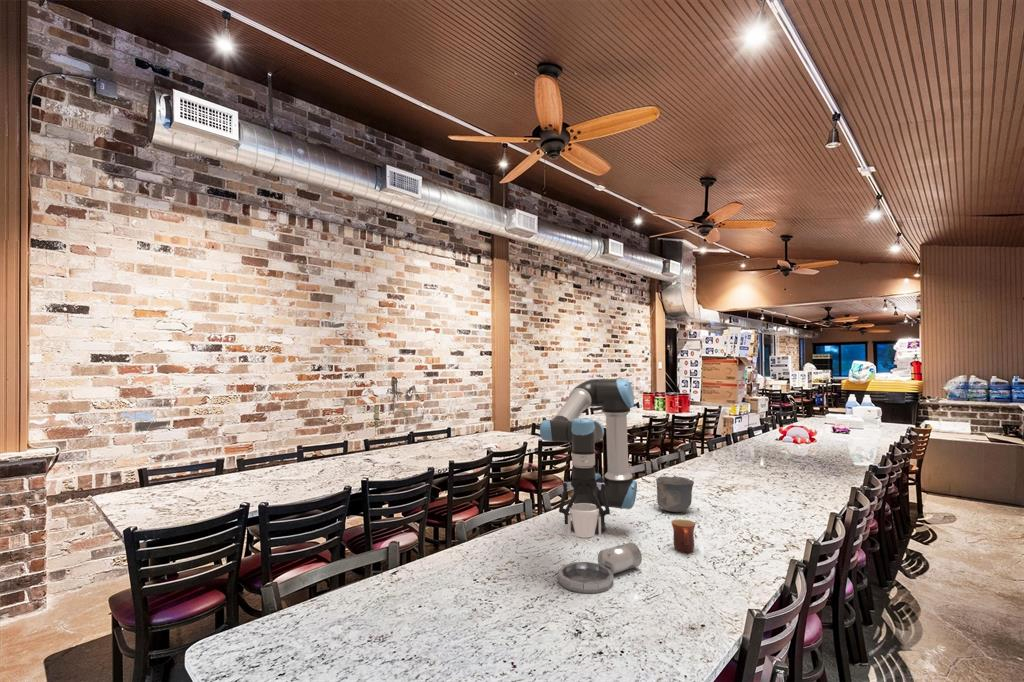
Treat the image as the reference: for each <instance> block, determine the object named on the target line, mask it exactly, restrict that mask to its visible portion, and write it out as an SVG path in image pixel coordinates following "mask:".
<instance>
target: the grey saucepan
mask: <svg viewBox="0 0 1024 682" xmlns="http://www.w3.org/2000/svg"><path fill="white" fill-rule="evenodd" d="M642 560H643V557H642V552H641V550H640V548H639V546H638V545H636V543H633V542H627V543H624V544H619V545H615V546H613V547H609V548H606V549H602V550H600V551H598V554H597V563H595V562H589V561H576V562H575V561H574V562H570V563H566V564H563V565H561V567H560V568H559V569H558V570H557V582H558V584H559V586H561V587H562V588H563V589H565V590H567V591H569V592H573V593H578V594H586V595H588V594H589V595H595V594H601V593H605V592H608V591H610V590H611V589H612V588H613V586H614V582H615V581H614V575H615V574H619V573H621V572H624V571H628V570H631V569H635V568H637V567H639V566H640V565H641V564H642Z"/></svg>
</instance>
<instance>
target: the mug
mask: <svg viewBox="0 0 1024 682" xmlns="http://www.w3.org/2000/svg"><path fill="white" fill-rule="evenodd" d="M671 526H672V531H673V542H672V543H673V547H674V549H675V550H676V551H677V552H679V553H682V554H689V553H692V552H693V551H694V548H695V535H694V532H695V529H696V522H695V521H692V520H688V519H683V518H681V519H680V518H679V519H678V518H677V519H673V520H671Z"/></svg>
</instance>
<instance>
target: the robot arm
mask: <svg viewBox="0 0 1024 682" xmlns="http://www.w3.org/2000/svg"><path fill="white" fill-rule="evenodd" d="M590 407H599V408H600V407H601V412H602V413H603V415H605V425H606V426H605V428H606V429H604V426H603V424H602V423H600V422H599V421H597V420H593V419H592V418H584V417H581V418H580V416H581V415H582V413H584V411H585V410H587V409H588V408H590ZM634 407H635V395H634V389H633V386H632V384H631V382H630V381H629V380H628V379H624V378H623V379H622V378H608V379H607V378H599V379H598V378H593V379H589V380H586V381H584V382H582V383H579V384H577V385H576V386H575V387H574V388H573V389H572V390H571V391H570V393H569V395H568V399H567V400H566V401H565V403H564V404H563V406H561V408H560V410H558V412H557V413H556V414H555V415H554V417H553V418H552V419H545V420H544V419H543V420H542V421H541V423H540V426H539V436H540V437H541V440H543V441H547V442H551V443H552V442H556V443H557V442H560V443H571V464H572V465H573V466H572V467H571V468H572V469H571V472H572V479H571V481H565V480H564V481H563V484H562V487H563V492H562V496H561V500H560V505H559V509H558V513H559V514H563V515H564V519H563V520H564V525H567V536H571V534H572V533H571V532H573V533H575V531H574V527H573V522H572V518H571V514H570V511H569V508H571V507H572V505H573V504H577V503H589V504H594V505H596V507H597V509H599V515H598V520H597V525H596V529H595V534H594V535H598V537H599V538H602V534H603V533H604V532H606V531H607V530H606V528H607V527H606V520H605V516H606V515H610V514H611V509H610V508H615V509H621V510H623V509H624V510H625V509H626V510H630V509H632V508H633V507H634V505H635V502H636V498H637V492H638V482H637V480H635V479H633V474H632V473H631V472H630V469H629V447H628V446H629V444H628V420H627V419H628V414H629V413H630V412H631V409H632V408H634ZM605 433H606V458H607V472H606V473H605V474H604V477H602V476H601V474H600V473H598V472H596V467H595V465H596V453H595V451H596V449H595V448H596V446H595V445H596V443H599V442H600V441H601V440H602V439H603V437H604V435H605ZM570 487H572V489H573V492H572V496H571V497H570V500H569V501H568V503H567V506H566V508H564V506H565V501H566V498H567V493H568V490H569V489H570ZM603 508H604V509H603Z"/></svg>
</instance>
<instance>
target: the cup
mask: <svg viewBox="0 0 1024 682" xmlns="http://www.w3.org/2000/svg"><path fill="white" fill-rule="evenodd" d="M569 513H570V514H571V520H572V522H573V527H574V531H575V532H574V535H575V537H577V538H579V539H584V540H585V539H588V540H589V539H592V538H593V537H594V536H595V535H596V534H595V529H596V525H597V520H598V515H599V509H597V507H596V505H594V504H589V503H577V504H574V503H573V505H572V507H571V508H569Z"/></svg>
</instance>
